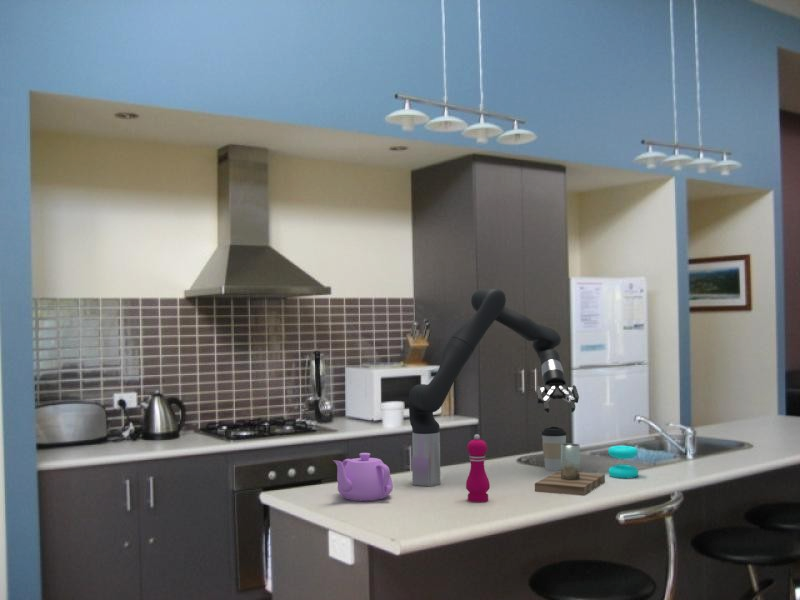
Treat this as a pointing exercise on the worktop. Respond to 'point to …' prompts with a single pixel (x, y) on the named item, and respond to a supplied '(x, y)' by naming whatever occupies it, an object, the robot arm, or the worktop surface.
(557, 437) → the coffee cup
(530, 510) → the worktop surface
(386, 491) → the teapot
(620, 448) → the pair of cyan discs
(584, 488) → the board
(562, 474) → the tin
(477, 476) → the pepper mill
